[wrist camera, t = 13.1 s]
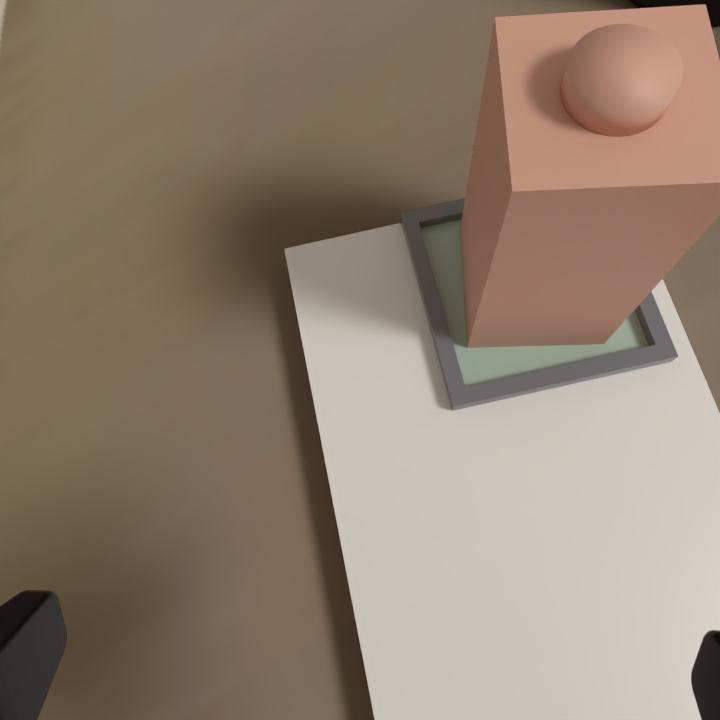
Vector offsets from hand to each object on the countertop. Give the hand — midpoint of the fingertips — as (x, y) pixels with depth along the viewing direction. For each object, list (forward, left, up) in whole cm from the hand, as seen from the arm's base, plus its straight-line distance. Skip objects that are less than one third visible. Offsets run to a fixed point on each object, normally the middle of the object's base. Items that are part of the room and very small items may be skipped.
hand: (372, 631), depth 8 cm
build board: (+4, -6, -14) cm, 15 cm away
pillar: (+10, -8, -12) cm, 17 cm away
